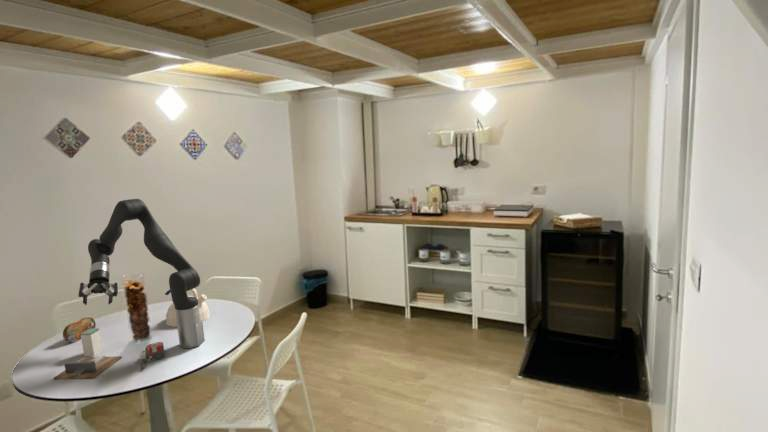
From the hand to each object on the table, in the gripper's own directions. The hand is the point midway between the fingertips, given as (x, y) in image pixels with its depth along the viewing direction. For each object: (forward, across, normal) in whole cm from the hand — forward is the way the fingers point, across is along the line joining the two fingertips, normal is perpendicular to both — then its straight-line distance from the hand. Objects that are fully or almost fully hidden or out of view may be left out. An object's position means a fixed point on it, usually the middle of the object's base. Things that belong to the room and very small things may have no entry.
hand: (97, 303), depth 182 cm
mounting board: (+27, -1, +6) cm, 28 cm away
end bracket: (+30, -4, +4) cm, 30 cm away
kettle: (-1, +40, +17) cm, 43 cm away
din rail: (+27, -1, +6) cm, 28 cm away
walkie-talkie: (+30, +20, -2) cm, 37 cm away
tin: (-3, -4, +30) cm, 31 cm away
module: (+15, 0, +15) cm, 21 cm away
